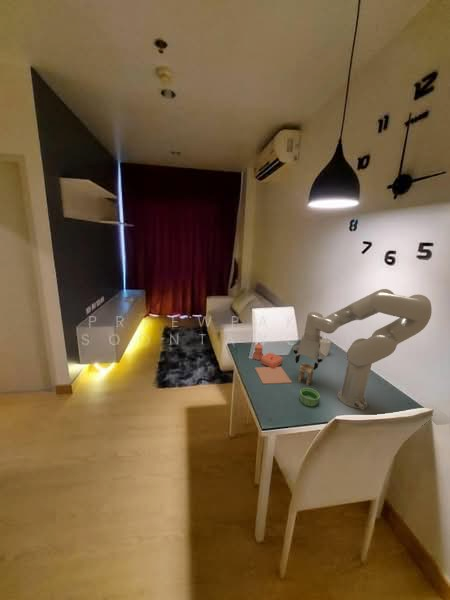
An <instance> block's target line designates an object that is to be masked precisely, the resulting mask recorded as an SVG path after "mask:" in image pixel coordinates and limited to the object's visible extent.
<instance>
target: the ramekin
mask: <svg viewBox="0 0 450 600" xmlns="http://www.w3.org/2000/svg"><path fill="white" fill-rule="evenodd" d="M320 398H321V395H320V393H319V392H318V391H317V390H315V389H314V388H310V387H303V388H301V389H300V391H299V401H300V402H301V403H302V404H303V405H304V406H307V407H315V406H317V405H318V404H319V399H320Z"/></svg>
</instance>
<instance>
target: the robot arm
mask: <svg viewBox="0 0 450 600" xmlns="http://www.w3.org/2000/svg"><path fill="white" fill-rule="evenodd" d="M432 310H433V309H432V303H431V300H430V299H429V298H428V297H427V296H426V295H423V294H412V295H410V296H405V295H399V294H395V293H394V292H393V290H390V289H388V288H382V289H379V290H376V291H374V292H372V293H370V294H369V295H366V296H364V297H362V298H360V299H358V300H356V301H354V302H352V303H350V304H349V305H347V306H345V307H343V308H341V309H338V310H337V311H335V312H332V313H331V314H329V315H327V316H326V317H324V316H323V314H321V313H319V312H314V311H312V312H308V314H307V315H306V316H307V317H306V322H305V326H304V327H305V328H304V333H303V335H302V337H301V339H300V342H299V344H296V345H293V346H292V351H293V353H294V354H295V358H294V361H295V364H298V363H299V361H300V359H301V358H300V357H301V356H304V357H307V358H310V359H312V360H314V361H315V362H314V364H313V366H314V370H313V371H315V370H317V369H318V367H319V364H320V363H322V362H324V361H325V359H326V357H327V356H324V355H323V354H322V353H321V352H320V339H321V340H322V338H323V336H321V332H322V333H325V334H327V335H328V334H329V335H330V334H333V333H335V331H336V330H337V329H339V328H340V327H342V326H344V325H346V324H349V323H351V322H354V321H363V320H365V319H367V318H370V317H371V316H374V315H377V314H379V313H381V314H383V315H388V316H392V317H396V319H395V320H393V321H392V322H389V323H388V324H385V325H384V326H382V327H379V328H378V329H376V330H374V332H373V333H372V335H371V336H369V337H368V338H358V339H355V340H354V341H353V342H352V344H351V345H350V346H349V348H348V349H347V351H346V360H347V366H346V370H345V375H344V381H343V384H342V385H343V386H342V390H340V391H338V393H337V398H338V400H339V401H340V402H341V403H343V404H344V405H346V406H348V407H351V408H353V409H361V410H365V409H366V408H367V407H368V406H369V404H368V403H367V402H368V401H367V400H366V397H365V394H366V391H367V390H366V389H367V385H368V381H369V377H370V372H371V368H372V364H374V363H377V362H379V361H380V360H383V359H385V358H387V357H389V356H391V355H392V354H393V353H394V352H395V351H396V348H397V346H398V345H399V344H401V343H403V342H405V341H406V340H409V339H410V338H412V337H414V336H416V335H417V334H419V333H421V331H422V330H425V328H426V327H427V325H428V323H429V322H430V320H431V317H432ZM397 317H398V318H397ZM297 349H298V350H297ZM319 357H321V358H319Z"/></svg>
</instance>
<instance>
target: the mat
mask: <svg viewBox="0 0 450 600" xmlns="http://www.w3.org/2000/svg"><path fill="white" fill-rule="evenodd" d="M254 369H255V371H256V374H257V375H258V378H259V380H260V382H261V384H262V385H277V384H278V385H279V384H280V385H282V384H292V383H293V381H292V380H291V379H290V377H289V376H288V375H287V373H286V372H285V370H284V368H283V367H282V366H277V367H275V368H274V369H273V368H271V367H268V366H264V367H263V366H261V367H260V366H259V367H257V366H256V367H254Z"/></svg>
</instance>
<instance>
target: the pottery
mask: <svg viewBox="0 0 450 600" xmlns="http://www.w3.org/2000/svg"><path fill="white" fill-rule="evenodd" d="M263 351H264V350H263V345H262V343H261V342H258V343H257V344H255V345H254V352H253V353H252V358H253V360H256V361H260V364H262V365H265V367H271V368H273V369H274V368H275V367H280V366H281V365H282V364H283V359H284V358H283V357H282V356H280V355H277V354H274V353H273V352H269V353H266V354H263Z"/></svg>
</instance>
